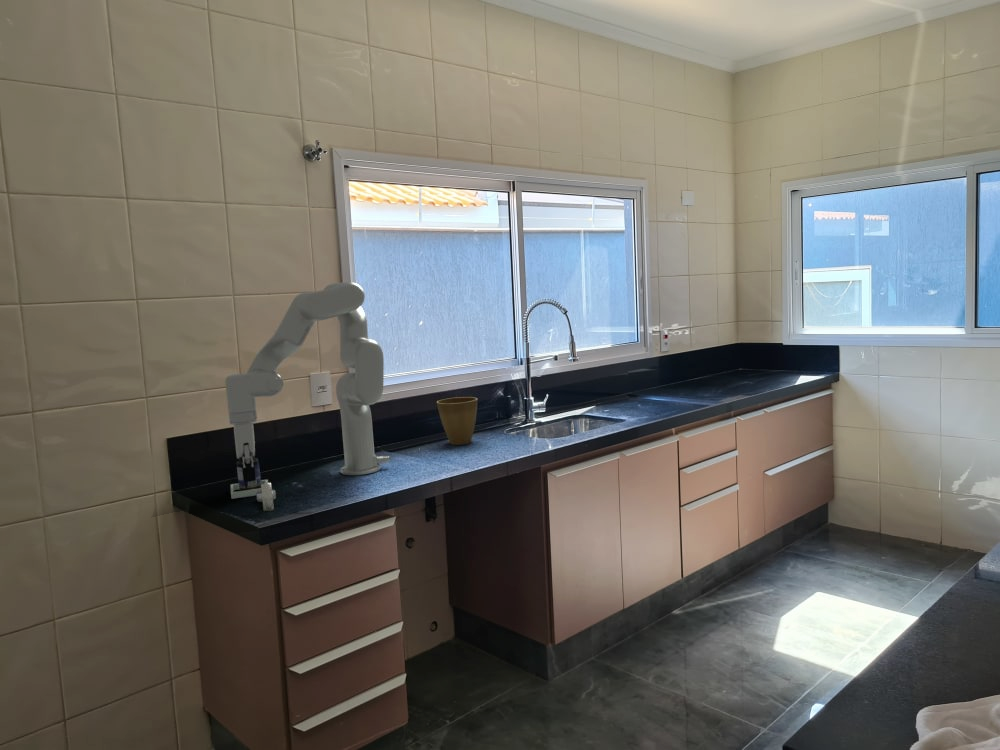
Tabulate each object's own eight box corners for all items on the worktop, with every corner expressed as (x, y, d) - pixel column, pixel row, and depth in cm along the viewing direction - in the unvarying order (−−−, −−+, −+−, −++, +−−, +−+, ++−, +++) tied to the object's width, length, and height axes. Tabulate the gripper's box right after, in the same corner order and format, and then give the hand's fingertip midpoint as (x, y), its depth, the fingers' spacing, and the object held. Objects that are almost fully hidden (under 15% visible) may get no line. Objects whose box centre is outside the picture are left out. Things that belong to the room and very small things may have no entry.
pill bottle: (264, 484, 220) (260, 448, 219) (258, 490, 214) (254, 452, 213) (242, 486, 220) (238, 449, 219) (236, 492, 214) (232, 454, 213)
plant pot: (483, 438, 280) (480, 395, 278) (476, 446, 266) (473, 402, 264) (444, 439, 283) (441, 397, 281) (435, 448, 268) (432, 403, 266)
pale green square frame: (268, 489, 224) (267, 479, 223) (270, 497, 214) (269, 487, 214) (231, 494, 220) (230, 484, 220) (231, 503, 211) (230, 493, 210)
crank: (256, 498, 209) (254, 473, 208) (275, 495, 211) (273, 471, 210) (259, 512, 195) (256, 486, 194) (278, 509, 197) (276, 483, 196)
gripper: (229, 414, 221) (235, 473, 224) (229, 423, 205) (236, 487, 207) (255, 411, 224) (261, 470, 226) (257, 420, 208) (264, 483, 210)
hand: (249, 477), depth 217 cm, fingers open, 6 cm apart
